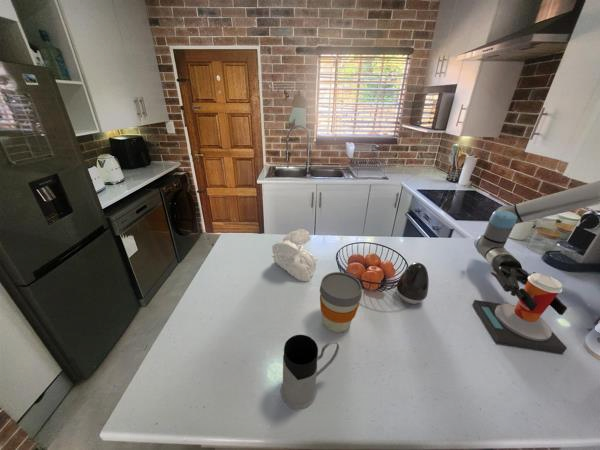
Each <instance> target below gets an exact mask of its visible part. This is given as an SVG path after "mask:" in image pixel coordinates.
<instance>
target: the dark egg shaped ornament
mask: <svg viewBox="0 0 600 450" xmlns="http://www.w3.org/2000/svg"><path fill="white" fill-rule="evenodd" d="M429 284H430V279H429V272H428V270H427V267H426V266H425V265H424V264H422V263H421V262H413V263H411V264H409V265H408V266H407V267H406V268H405V270H404V271H403V272H402V273H401V275H400V277H399V279H398V281H397V284H396V290H397V294H398V295H399V297H400V298H401V299H402V300H403V301H404V302H405V303H408V304H412V305H414V304H415V305H416V304H420V303H421V302H423V301H424V300H425V299H427V296H428V294H429V286H430V285H429Z"/></svg>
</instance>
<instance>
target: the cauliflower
mask: <svg viewBox="0 0 600 450" xmlns="http://www.w3.org/2000/svg"><path fill="white" fill-rule="evenodd" d="M310 240H311V234H310V233H309V231H307V230H306V229H303V228H299V229H297V230H292V231H290V232H288V233H287V234H286V235H285V236H284V237H283V238H282V240H281V241H277V242H276V243H274V244H273V245H272V247H271V252H272V255H271V258H273V259H272V260H273V262H274V263H275V264H276V266H280V268H281V269H283V270H284V271H287V273H288V274H289V275H290V276H292V277H294V278H295V279H296V280H298V281H301V282H308V281H310V280H311V278H313V276H314V275H315V273H316V270H317V261H318V259H317V258H315V256H314V254H313V253H311V250H306V249H305V247H304V246H305V245H306V244H307V243H309V241H310Z"/></svg>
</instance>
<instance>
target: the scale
mask: <svg viewBox="0 0 600 450" xmlns="http://www.w3.org/2000/svg"><path fill="white" fill-rule="evenodd" d="M516 305H517V304H516ZM516 305H515V304H512V303H500V302H493V301H485V300H478V299H474V300H473V302H472V307H473V310H474V311H475V312H476V314H477V315H478V318H480V320H481V322H482V323H483V326H484V327H485V328H486V330H487V331H488V333H489V335H490V336H491V338H492V340H493V341H494V343H495V344H498V345H504V346H505V345H506V346H511V347H517V348H522V349H523V348H524V349H530V350H535V351H536V350H537V351H543V352H550V353H557V354H564V353H565V351H567V349H568V346H566V345H565V344H564V343H563V342H562V340H561V339H560V338H559V337H558V336H557V335H556V334H555V333H554V332H553V330H552V328H551V326H550V325H549V324H548V323H547V322H546V320H544V319H543V318H542V317H541V316H540V317H539V318H538V320H537V321H536V322H528V321H525V320H523V319H521V318H520V317H518V316H517V315H516V314H515V312H514V310H515V307H516Z"/></svg>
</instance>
